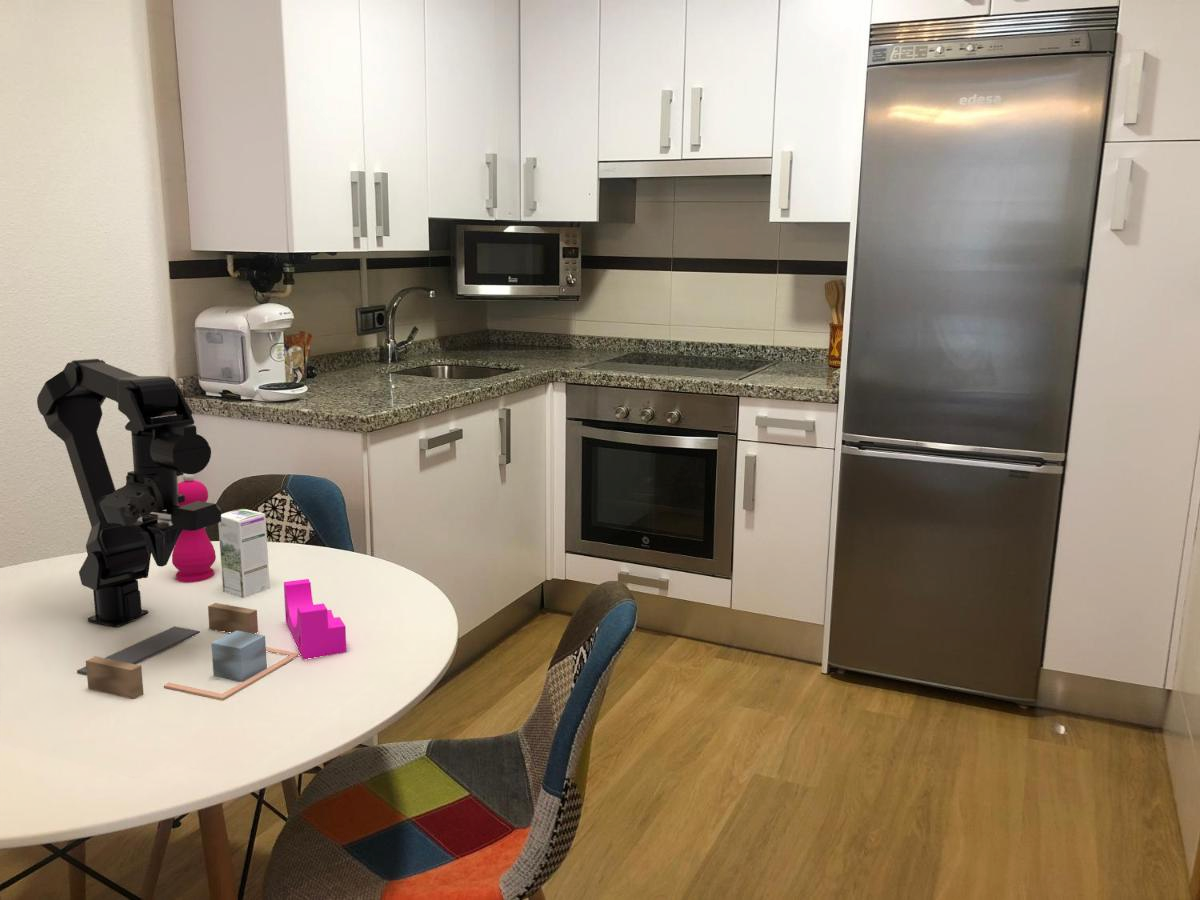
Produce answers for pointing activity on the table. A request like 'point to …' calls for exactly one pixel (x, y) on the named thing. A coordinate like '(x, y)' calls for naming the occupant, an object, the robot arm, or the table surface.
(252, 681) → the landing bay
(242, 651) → the cube
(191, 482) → the pepper mill
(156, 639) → the grey flat board
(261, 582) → the syrup box
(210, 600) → the table surface
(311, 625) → the toy block
